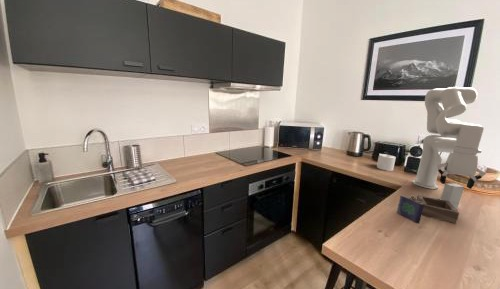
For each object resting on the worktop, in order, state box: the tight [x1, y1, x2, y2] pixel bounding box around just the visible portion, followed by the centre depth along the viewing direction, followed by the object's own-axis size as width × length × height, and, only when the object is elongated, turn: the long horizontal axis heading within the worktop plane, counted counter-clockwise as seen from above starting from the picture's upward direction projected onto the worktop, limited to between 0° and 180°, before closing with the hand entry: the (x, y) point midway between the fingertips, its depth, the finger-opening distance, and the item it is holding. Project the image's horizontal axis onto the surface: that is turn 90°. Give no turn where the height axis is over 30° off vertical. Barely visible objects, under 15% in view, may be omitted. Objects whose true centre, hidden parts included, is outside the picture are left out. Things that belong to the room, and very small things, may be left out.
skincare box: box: [440, 183, 465, 210], centre depth 103 cm, size 6×4×12 cm
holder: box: [416, 194, 460, 224], centre depth 97 cm, size 12×12×5 cm
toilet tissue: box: [376, 153, 397, 172], centre depth 159 cm, size 11×12×10 cm
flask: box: [396, 194, 424, 224], centre depth 92 cm, size 9×3×11 cm, turn 24°
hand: (455, 185), depth 100 cm, fingers open, 9 cm apart
